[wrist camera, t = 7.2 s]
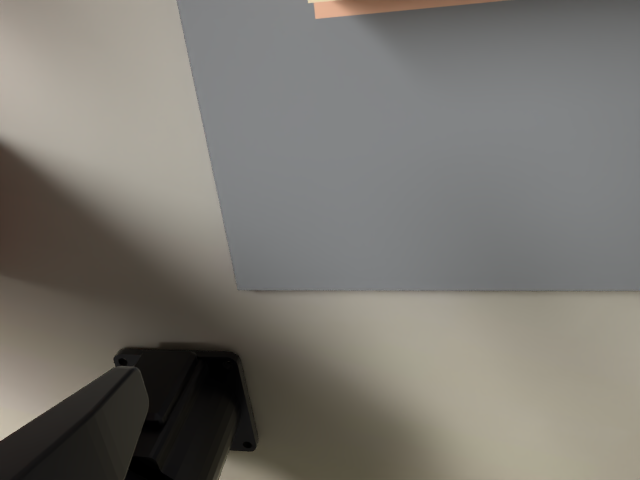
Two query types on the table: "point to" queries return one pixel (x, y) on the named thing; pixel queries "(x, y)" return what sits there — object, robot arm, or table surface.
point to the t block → (313, 0)
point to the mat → (423, 141)
